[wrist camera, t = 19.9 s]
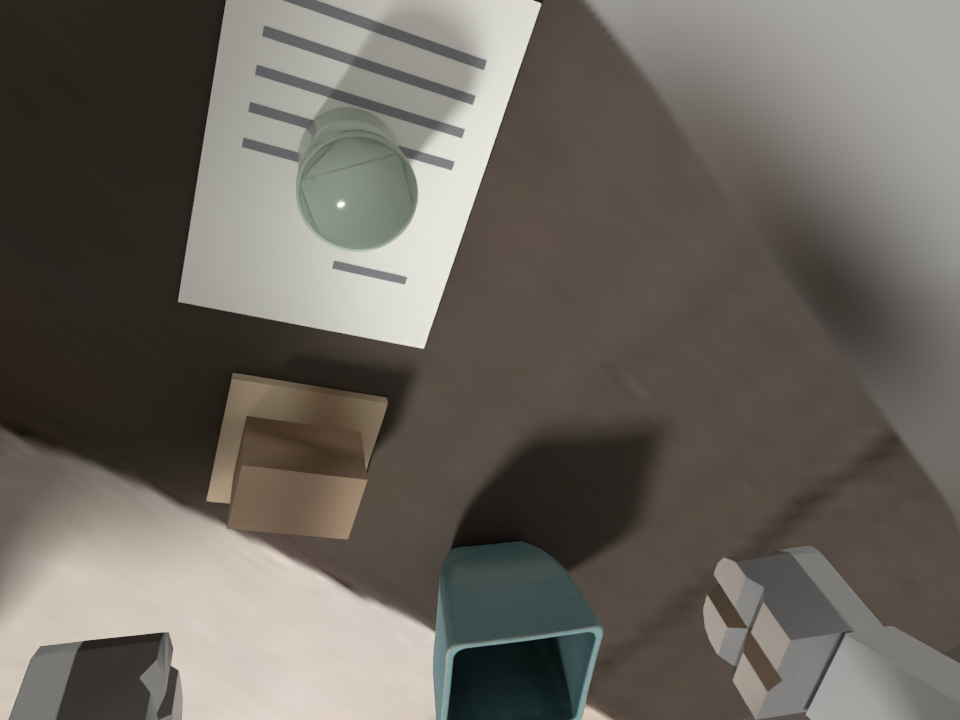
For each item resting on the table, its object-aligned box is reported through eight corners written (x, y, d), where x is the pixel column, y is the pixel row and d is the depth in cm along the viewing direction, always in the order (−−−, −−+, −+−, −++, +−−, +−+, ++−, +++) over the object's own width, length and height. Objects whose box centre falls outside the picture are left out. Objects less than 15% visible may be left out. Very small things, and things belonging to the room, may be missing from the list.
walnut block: (232, 475, 38) (227, 528, 35) (246, 415, 36) (241, 464, 33) (343, 488, 40) (347, 539, 37) (361, 432, 38) (367, 480, 35)
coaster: (207, 493, 39) (206, 501, 38) (232, 372, 35) (231, 378, 35) (350, 508, 42) (351, 515, 41) (386, 397, 38) (388, 403, 38)
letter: (178, 299, 33) (177, 302, 33) (244, -114, 26) (244, -115, 25) (423, 345, 37) (424, 349, 37) (539, 2, 30) (541, 3, 29)
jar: (277, 178, 31) (274, 218, 27) (326, 83, 29) (331, 109, 25) (370, 227, 33) (381, 270, 29) (420, 140, 31) (440, 172, 27)
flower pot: (420, 525, 44) (447, 649, 36) (555, 512, 46) (606, 627, 38) (415, 621, 48) (437, 749, 41) (538, 605, 50) (581, 724, 43)
